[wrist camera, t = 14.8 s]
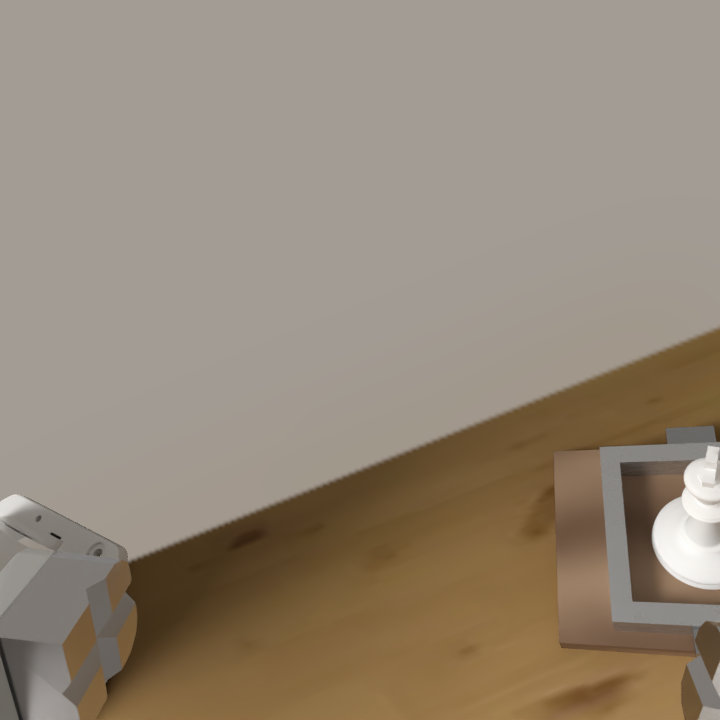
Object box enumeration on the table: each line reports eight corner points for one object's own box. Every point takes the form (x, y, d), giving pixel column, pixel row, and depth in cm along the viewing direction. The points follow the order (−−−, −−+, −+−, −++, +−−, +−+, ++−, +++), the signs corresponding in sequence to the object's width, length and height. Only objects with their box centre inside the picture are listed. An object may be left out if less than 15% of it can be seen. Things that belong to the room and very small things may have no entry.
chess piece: (763, 509, 34) (788, 415, 26) (752, 602, 32) (777, 530, 24) (660, 488, 36) (656, 397, 29) (643, 573, 34) (635, 499, 27)
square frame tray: (844, 670, 29) (852, 662, 28) (616, 654, 33) (613, 646, 31) (785, 435, 35) (790, 419, 34) (600, 443, 39) (598, 429, 38)
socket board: (910, 671, 29) (917, 665, 28) (561, 647, 35) (559, 642, 34) (843, 449, 35) (848, 439, 34) (556, 460, 41) (553, 451, 40)
